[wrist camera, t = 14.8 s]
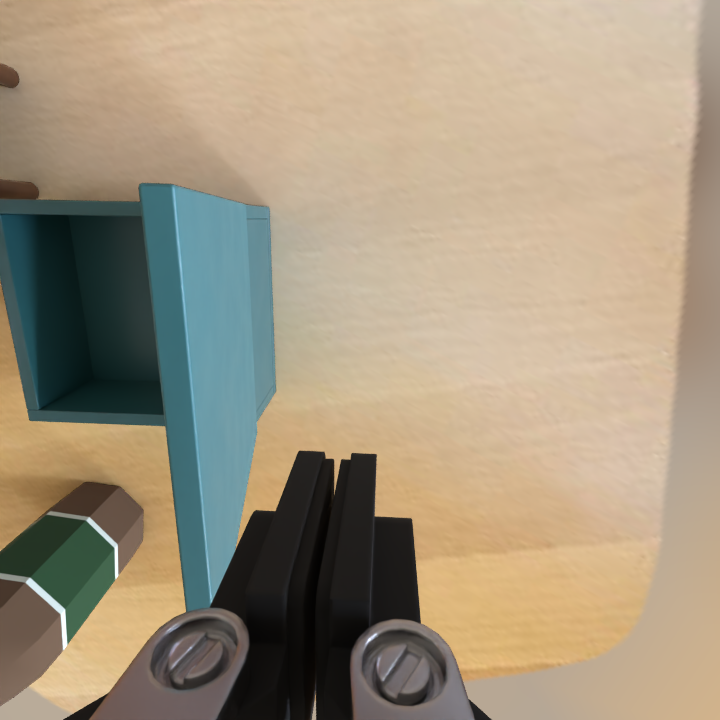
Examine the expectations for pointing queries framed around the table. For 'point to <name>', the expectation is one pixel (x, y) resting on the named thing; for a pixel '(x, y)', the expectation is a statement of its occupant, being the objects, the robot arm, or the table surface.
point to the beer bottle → (61, 577)
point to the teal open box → (103, 310)
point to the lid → (203, 370)
